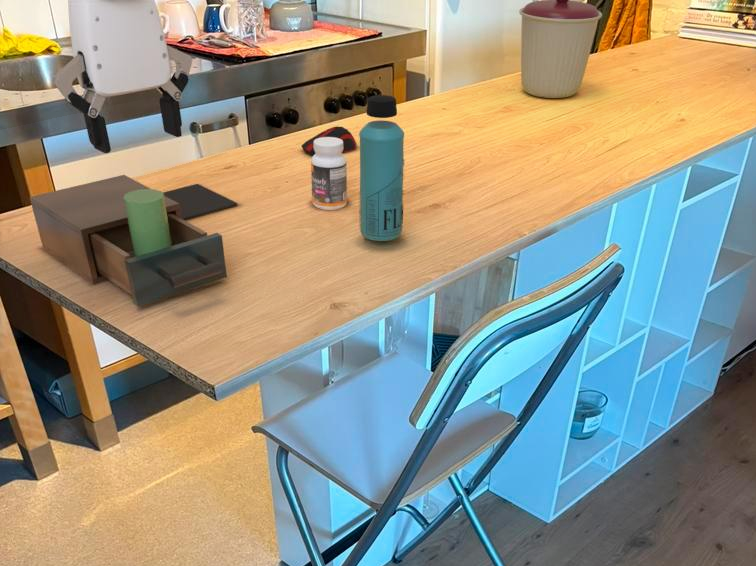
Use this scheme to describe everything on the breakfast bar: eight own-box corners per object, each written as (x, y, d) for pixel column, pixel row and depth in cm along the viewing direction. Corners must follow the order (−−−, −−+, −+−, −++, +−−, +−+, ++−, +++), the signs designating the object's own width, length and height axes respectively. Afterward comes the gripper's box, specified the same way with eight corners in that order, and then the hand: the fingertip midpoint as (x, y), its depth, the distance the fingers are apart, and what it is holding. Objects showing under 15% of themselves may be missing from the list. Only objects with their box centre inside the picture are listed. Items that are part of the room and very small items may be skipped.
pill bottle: (305, 204, 133) (302, 140, 127) (332, 196, 136) (330, 133, 130) (327, 214, 130) (325, 149, 124) (354, 205, 133) (353, 141, 127)
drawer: (246, 288, 107) (241, 245, 103) (156, 319, 100) (147, 274, 96) (170, 244, 118) (164, 204, 114) (84, 269, 111) (75, 228, 107)
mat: (173, 224, 126) (172, 220, 125) (134, 203, 132) (134, 199, 132) (237, 206, 132) (237, 203, 132) (197, 187, 139) (197, 183, 138)
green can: (149, 278, 106) (135, 205, 100) (130, 266, 109) (116, 194, 103) (182, 268, 109) (171, 196, 103) (163, 256, 112) (151, 186, 106)
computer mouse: (297, 152, 154) (296, 130, 151) (341, 141, 159) (340, 119, 157) (318, 160, 150) (317, 138, 147) (362, 149, 156) (362, 126, 153)
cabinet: (187, 256, 117) (179, 203, 112) (93, 285, 109) (80, 229, 104) (133, 225, 125) (124, 174, 121) (43, 249, 118) (29, 196, 113)
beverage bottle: (382, 255, 118) (384, 106, 105) (349, 242, 121) (347, 96, 108) (411, 242, 122) (416, 97, 109) (379, 230, 125) (380, 88, 112)
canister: (605, 97, 187) (624, -10, 174) (543, 107, 180) (558, -4, 167) (555, 80, 199) (569, -22, 185) (495, 88, 192) (505, -17, 178)
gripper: (160, -35, 95) (183, 122, 106) (16, -20, 86) (58, 149, 97) (195, -28, 91) (215, 135, 102) (47, -12, 82) (87, 164, 93)
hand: (138, 142), depth 99 cm, fingers open, 9 cm apart
